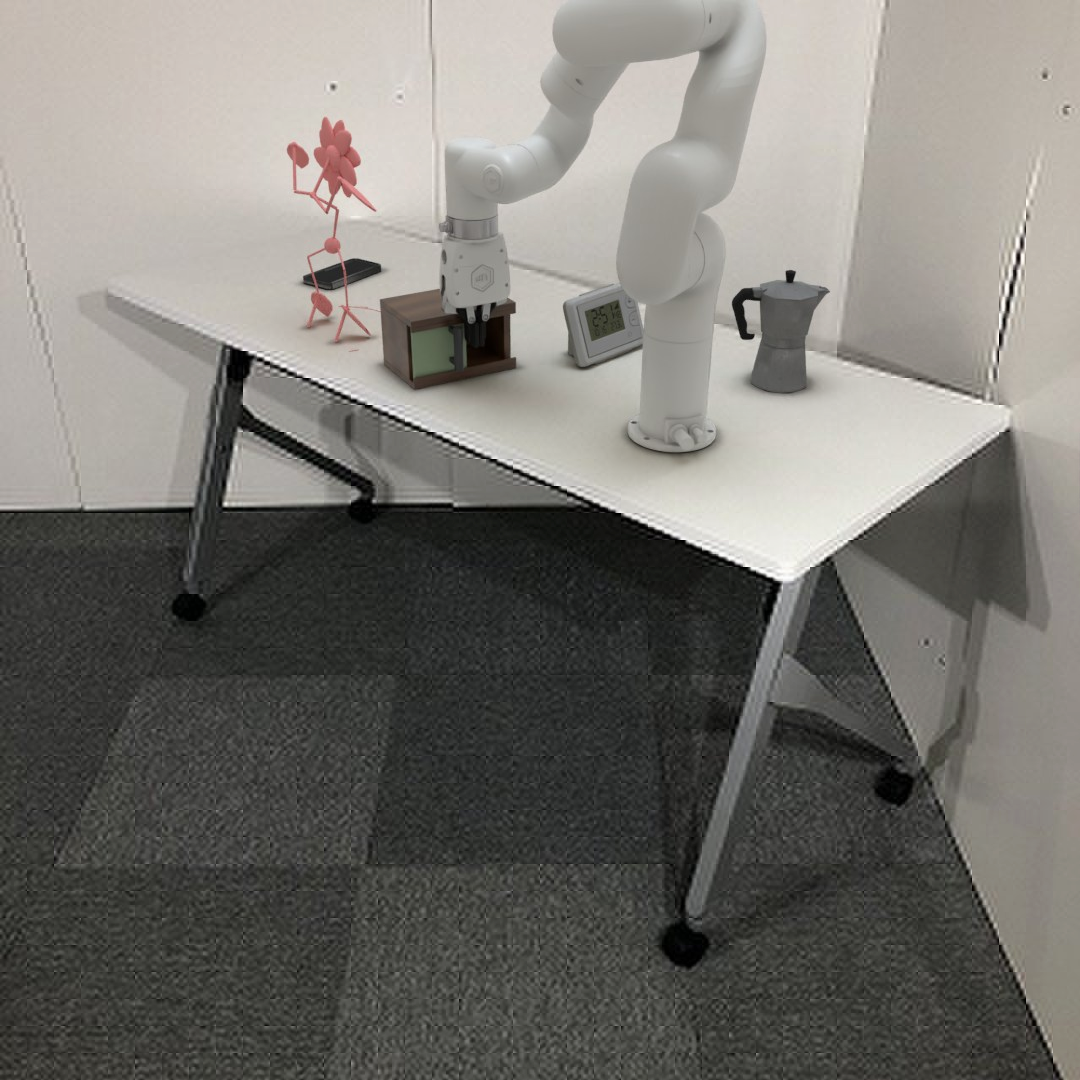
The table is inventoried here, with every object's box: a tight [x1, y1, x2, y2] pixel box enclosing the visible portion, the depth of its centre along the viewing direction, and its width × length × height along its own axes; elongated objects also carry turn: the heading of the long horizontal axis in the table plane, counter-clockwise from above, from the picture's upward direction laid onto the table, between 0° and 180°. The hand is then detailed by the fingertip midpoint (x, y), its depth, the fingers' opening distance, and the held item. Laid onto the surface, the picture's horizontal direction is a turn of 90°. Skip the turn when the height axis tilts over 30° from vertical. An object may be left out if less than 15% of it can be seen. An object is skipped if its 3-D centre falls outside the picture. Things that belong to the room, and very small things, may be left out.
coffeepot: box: [731, 269, 831, 394], centre depth 184 cm, size 15×9×18 cm, turn 101°
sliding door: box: [410, 323, 467, 378], centre depth 184 cm, size 4×9×8 cm, turn 120°
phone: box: [302, 257, 382, 290], centre depth 232 cm, size 8×1×15 cm
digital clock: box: [562, 282, 644, 368], centre depth 196 cm, size 16×9×11 cm, turn 123°
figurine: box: [286, 116, 381, 353], centre depth 200 cm, size 15×26×35 cm, turn 40°
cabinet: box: [379, 288, 517, 390], centre depth 191 cm, size 12×18×11 cm, turn 120°
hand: (475, 344), depth 185 cm, fingers closed
